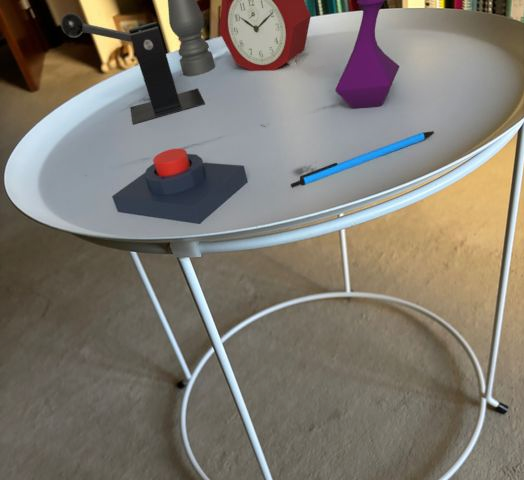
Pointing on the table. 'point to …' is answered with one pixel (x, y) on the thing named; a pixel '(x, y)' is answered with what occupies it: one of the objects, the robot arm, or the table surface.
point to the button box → (182, 191)
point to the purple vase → (367, 65)
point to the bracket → (158, 78)
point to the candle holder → (190, 37)
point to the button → (171, 162)
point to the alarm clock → (264, 31)
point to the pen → (360, 159)
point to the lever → (89, 28)
